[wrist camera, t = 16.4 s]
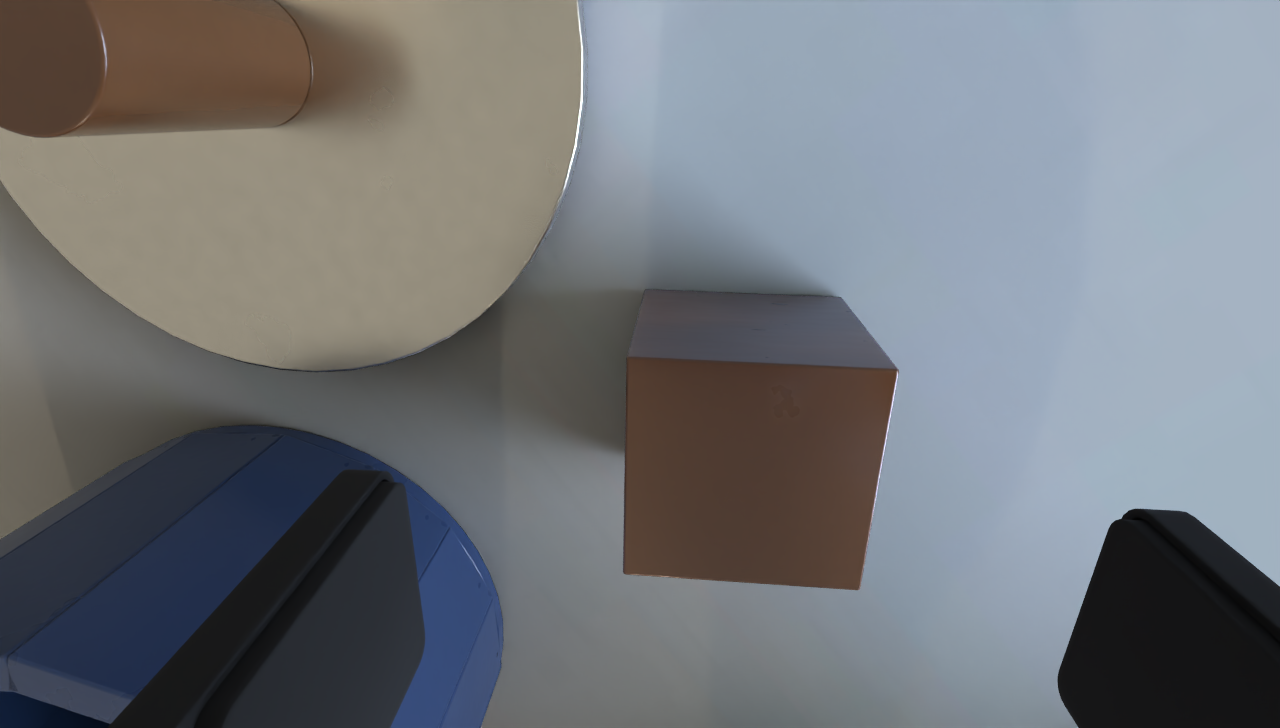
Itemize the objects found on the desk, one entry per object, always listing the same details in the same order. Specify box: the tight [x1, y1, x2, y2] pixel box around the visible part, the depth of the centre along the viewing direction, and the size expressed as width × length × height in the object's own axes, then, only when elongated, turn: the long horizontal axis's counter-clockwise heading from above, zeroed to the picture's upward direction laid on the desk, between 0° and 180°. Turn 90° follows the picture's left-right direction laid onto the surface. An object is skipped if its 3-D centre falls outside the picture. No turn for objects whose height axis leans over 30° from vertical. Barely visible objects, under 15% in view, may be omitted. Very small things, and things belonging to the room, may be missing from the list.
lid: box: [0, 0, 588, 372], centre depth 11 cm, size 14×14×6 cm
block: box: [623, 289, 899, 590], centre depth 14 cm, size 5×5×5 cm
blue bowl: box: [0, 425, 503, 728], centre depth 16 cm, size 13×13×8 cm
